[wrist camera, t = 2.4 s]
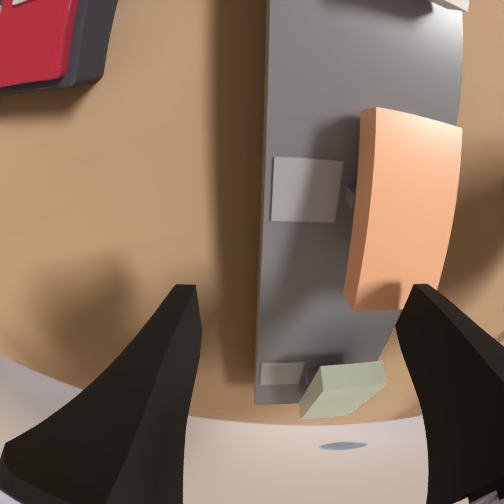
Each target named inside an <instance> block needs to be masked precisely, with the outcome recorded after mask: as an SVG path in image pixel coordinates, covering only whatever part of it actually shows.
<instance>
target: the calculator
mask: <svg viewBox="0 0 504 504" xmlns="http://www.w3.org/2000/svg"><path fill="white" fill-rule="evenodd" d="M117 2H118V0H0V96H3V95H9V94H15V93H23V92H31V91H40V90H50V89H63V88H71V87H75V86H79V85H84V84H88V83H92V82H97V81H99V80H100V79H101V78H102V76H103V73H104V67H105V60H106V54H107V48H108V43H109V37H110V32H111V28H112V23H113V19H114V14H115V10H116V6H117Z"/></svg>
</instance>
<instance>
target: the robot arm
mask: <svg viewBox="0 0 504 504" xmlns="http://www.w3.org/2000/svg"><path fill="white" fill-rule="evenodd" d="M395 327H396V331H397V336H398V340H399V344H400V348H401V351H402V354H403V357H404V360H405V362H406V365H407V368H408V371H409V373H410V376H411V379H412V382H413V384H414V387H415V390H416V393H417V396H418V399H419V402H420V406H421V409H422V414H423V419H424V425H425V430H426V438H427V448H428V465H429V466H428V467H429V477H428V494H427V502H426V504H453V503H456V502H458V501H461V500H463V499H465V498H467V497H468V500H469V504H504V346H502V345H501V344H500V343H499V342H497V341H496V340H495V339H494V338H492V337H491V336H490V335H489V334H488V333H486V332H485V331H484V330H483V329H482V328H480V327H479V326H478V325H477V324H476V323H475V322H473V321H472V320H471V319H470V318H469V317H468V316H467V315H465V314H464V313H463V312H462V311H461V310H460V309H459V308H457V307H456V306H455V305H454V304H453V303H452V302H450V301H449V300H448V299H447V298H446V297H444V296H443V295H442V294H441V293H439V292H438V291H437V290H436V289H434V288H433V287H431V286H430V285H428V284H413V287H412V289H411V291H410V294H409V296H408V299H407V301H406V303H405V305H404V308H403V310H402V312H401V314H400V317H399V319H398V321H397V323H396V325H395ZM201 336H202V327H201V320H200V313H199V306H198V298H197V291H196V285H183V284H176V285H175V286H174V287H173V288H172V290H171V291H170V293H169V294H168V295H167V297H166V298H165V299H164V301H163V302H162V303H161V305H160V306H159V307H158V309H157V310H156V311H155V313H154V314H153V315H152V317H151V318H150V319H149V320H148V322H147V323H146V324H145V325H144V327H143V328H142V329H141V330H140V332H139V333H138V334H137V335H136V337H135V338H134V339H133V340H132V341H131V342H130V343H129V345H128V346H127V347H126V348H125V349H124V350H123V351H122V353H121V354H120V355H119V356H118V357H117V358H116V359H115V360H114V361H113V362H112V363H111V364H110V366H109V367H108V368H107V369H106V370H105V371H104V372H102V373H101V374H100V375H99V376H98V377H97V378H96V379H95V380H94V381H93V382H92V383H91V384H90V385H89V386H87V387H86V388H85V389H84V390H83V391H82V392H81V393H80V394H78V395H77V396H76V397H75V398H74V399H73V400H71V401H70V402H69V403H67V404H66V405H65V406H63V407H62V408H61V409H59V410H58V411H57V412H55V413H54V414H52V415H51V416H50V417H48V418H47V419H45V420H44V421H43V422H41V423H40V424H38V425H36V426H35V427H33V428H31V429H30V430H28V431H26V432H25V433H23V434H21V435H19V436H18V437H16V438H14V439H12V440H10V441H8V442H7V443H5V446H4V449H3V452H2V455H1V458H0V504H183V465H184V447H185V446H184V445H185V433H186V424H187V417H188V412H189V407H190V402H191V397H192V392H193V387H194V382H195V377H196V373H197V368H198V363H199V357H200V347H201Z"/></svg>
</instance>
